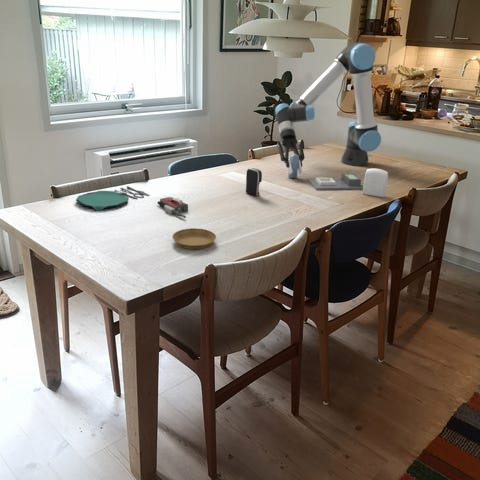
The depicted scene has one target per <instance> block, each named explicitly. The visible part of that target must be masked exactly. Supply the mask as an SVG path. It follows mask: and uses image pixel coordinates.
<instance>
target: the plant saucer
mask: <svg viewBox="0 0 480 480" xmlns="http://www.w3.org/2000/svg"><path fill="white" fill-rule="evenodd" d="M216 238H217V235H216V233H214V232H213V231H210V230H207V229H206V228H205V229H204V228H196V227H195V228H193V227H192V228H191V227H190V228H185V229H181V230H178V231H176V232H174V233H173V234H172V239H173V241H174V242H175V243H176V244H177V245H178V246H179V247H181V248H183V249H187V250H188V249H189V250H202V249H203V250H204V249H206V248H208V247H209V246H210V245H212V244H213V243H214V242H215V241H216Z"/></svg>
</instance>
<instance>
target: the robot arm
mask: <svg viewBox="0 0 480 480" xmlns="http://www.w3.org/2000/svg"><path fill="white" fill-rule="evenodd" d="M375 62H376V52H375V49H374V48H373V46H371V45H369V44H367V43H364V42H362V43H361V42H353V43H350V44H348V45H347V46H345V48H343V49H342V51H340V52H339V53H338V55H337V56H335V57H334V59H333V63H332V64H331V65H330V66H328V68H327V69H326V70H325V71H324V72H322V73H321V75H320V76H319V77H318V78H317V79H316V80H315V81H314V82H313V83H312V84H311V85H310V86H309V87H308V88H307V89H306V90H305V92H303V93H302V95H301V96H300V97H299V98H297V100H296V101H293V102H292V103H290V105H289V104H288V103H280V104H278V105H277V106H276V107H275V110H274V111H275V117H276V121H277V122H276V123H277V126H278V130H279V131H278V132H279V135H280V140H281V141H278V142H277V144H276V147H277V148H278V152H279V157H280V161H281V162H284V164H285V167H286V168H287V169H288V174H291V173H292V172H293V171H292V166H291V161H290V150H291V151H292V152H293V154H296V155H299V161H298V174H299V175H300V174H302V172H303V168H302V167H303V162H304V159H305V157H306V156H305V153H304V148H303V145H304V144H303V141H299V140H298V139H297V136H296V132H295V128H294V123H299V122H309V121H313V120H314V119H315V109H314V108H315V107H314V106H313V104H314V103H316V102H317V101H318V100H319V99H320V98H321V96H322V95H324V93H326V91H327V90H328V89H329V88H331V86H332V85H333V84H335V82H336V81H337V80H338V79H339V78H340V77H341V76H342V75H343V74H344V73H345V74H346V73H348V72H349V75H350V76H351V77H352V79H353V88H354V89H353V90H354V102H355V103H354V104H355V111H356V121H351V122H349V124H348V131H347V138H346V145H345V146H346V147H345V149H344V151H343V153H342V156H341V159H340V162H341V163H342V164H345V165H349V166H356V167H357V166H358V167H360V166H361V167H363V166H367V165H368V164H369V156H368V152H369V153H371V152H373V151H375V150H377V149H378V147H380V145H381V143H382V136H381V134H380V132H379V127H378V123H377V122H376V121H375V116H374V104H373V101H374V100H373V91H372V78H371V74H372V72H373V71H374V63H375ZM283 147H284V149H283Z"/></svg>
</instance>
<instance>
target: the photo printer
mask: <svg viewBox="0 0 480 480" xmlns="http://www.w3.org/2000/svg"><path fill="white" fill-rule="evenodd" d="M388 179H389V172H388V171H387V170H384V169H381V168H373V167H372V168H368V169H366V172H365V173H364V182H363V190H362V194H363V195H368V196H372V197H373V196H374V197H379V198H385V197H386V191H387V188H388V187H387V185H388Z"/></svg>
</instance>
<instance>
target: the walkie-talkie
mask: <svg viewBox="0 0 480 480" xmlns="http://www.w3.org/2000/svg"><path fill="white" fill-rule="evenodd" d="M157 204H158V205H159V207H161V208H162V209H164V211H165V212H166V213H167V214H169V215H176V216H179V217H181V218H184V219H186V218H187V216H186V215H184V214H182V213H183V212H188V211H189V204H188V203H185V202H183V200H181V199H179V198H177V197H176V198H174V197H173V196H167V197H163V198H160V199H159V200H158V201H157Z"/></svg>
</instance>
